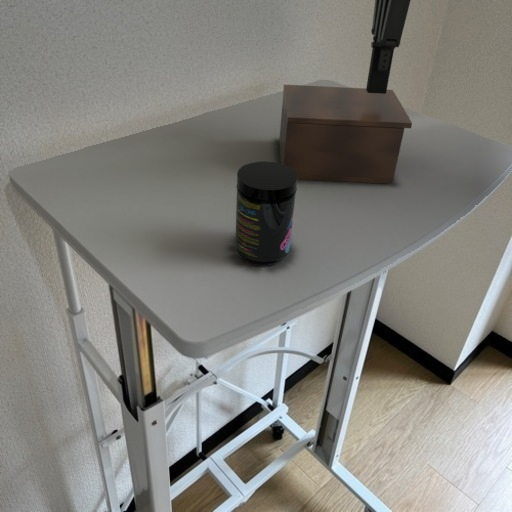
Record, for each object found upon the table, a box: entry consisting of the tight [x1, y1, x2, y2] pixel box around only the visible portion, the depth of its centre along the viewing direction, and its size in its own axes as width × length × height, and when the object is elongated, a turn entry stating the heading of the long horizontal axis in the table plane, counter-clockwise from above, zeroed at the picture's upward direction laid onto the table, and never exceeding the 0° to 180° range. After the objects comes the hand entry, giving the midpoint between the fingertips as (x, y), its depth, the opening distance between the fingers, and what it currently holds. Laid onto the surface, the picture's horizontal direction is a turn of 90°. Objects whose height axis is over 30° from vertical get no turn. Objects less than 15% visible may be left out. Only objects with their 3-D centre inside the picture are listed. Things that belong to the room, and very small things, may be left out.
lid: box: [283, 84, 413, 129], centre depth 83 cm, size 18×14×1 cm
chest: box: [278, 89, 405, 185], centre depth 85 cm, size 17×14×9 cm
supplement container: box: [234, 160, 299, 267], centre depth 64 cm, size 7×7×10 cm
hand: (376, 91), depth 81 cm, fingers closed
